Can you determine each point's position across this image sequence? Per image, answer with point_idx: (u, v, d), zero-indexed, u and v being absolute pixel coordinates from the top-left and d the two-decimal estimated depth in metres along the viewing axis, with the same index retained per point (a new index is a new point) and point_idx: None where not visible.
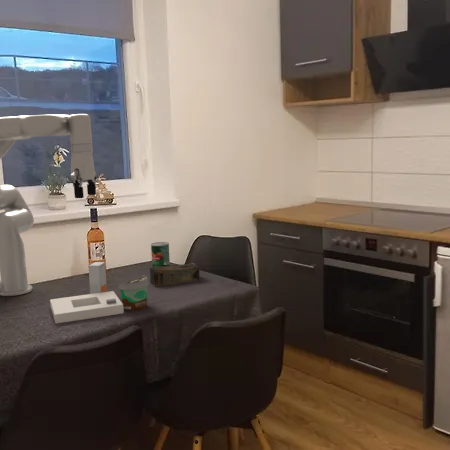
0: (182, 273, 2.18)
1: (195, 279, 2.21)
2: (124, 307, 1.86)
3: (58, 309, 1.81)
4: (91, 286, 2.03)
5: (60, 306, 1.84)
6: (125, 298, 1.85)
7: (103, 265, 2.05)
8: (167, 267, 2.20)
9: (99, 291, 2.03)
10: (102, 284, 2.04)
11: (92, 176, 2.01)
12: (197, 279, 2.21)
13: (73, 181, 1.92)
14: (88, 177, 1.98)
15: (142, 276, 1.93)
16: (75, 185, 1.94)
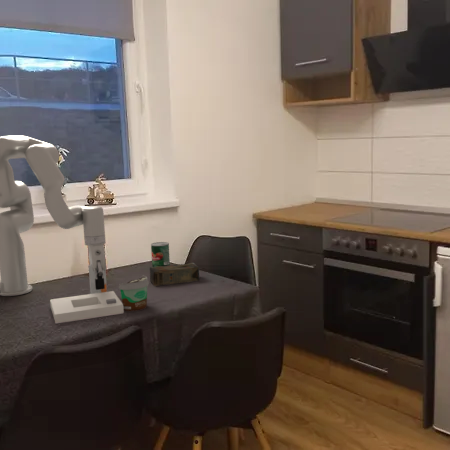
0: (181, 273, 2.18)
1: (195, 279, 2.21)
2: (124, 307, 1.86)
3: (58, 309, 1.81)
4: (91, 286, 2.03)
5: (60, 306, 1.84)
6: (125, 298, 1.85)
7: None
8: (167, 267, 2.21)
9: (99, 291, 2.03)
10: None
11: (92, 268, 2.02)
12: (197, 279, 2.22)
13: None
14: None
15: (142, 276, 1.93)
16: None
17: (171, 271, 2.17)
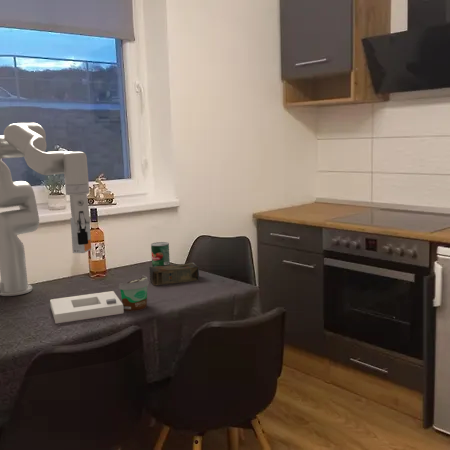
0: (180, 272, 2.19)
1: (194, 279, 2.21)
2: (124, 307, 1.86)
3: (58, 309, 1.81)
4: (73, 241, 1.82)
5: (60, 306, 1.84)
6: (125, 298, 1.85)
7: None
8: (166, 266, 2.21)
9: (82, 246, 1.82)
10: None
11: (74, 221, 1.81)
12: (196, 279, 2.22)
13: None
14: None
15: (142, 276, 1.93)
16: None
17: (170, 271, 2.17)
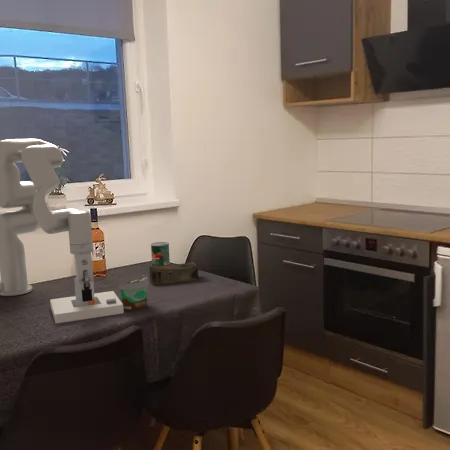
0: (180, 272, 2.19)
1: (194, 278, 2.22)
2: (124, 307, 1.86)
3: (58, 309, 1.81)
4: (77, 301, 1.85)
5: (60, 306, 1.84)
6: (125, 298, 1.85)
7: None
8: (166, 266, 2.22)
9: None
10: None
11: (78, 279, 1.83)
12: (196, 279, 2.22)
13: None
14: None
15: (142, 276, 1.93)
16: None
17: (170, 270, 2.18)
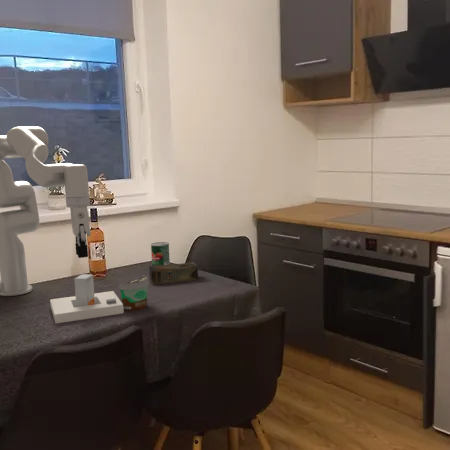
0: (179, 272, 2.20)
1: (193, 278, 2.22)
2: (124, 307, 1.86)
3: (58, 309, 1.81)
4: (77, 301, 1.85)
5: (60, 306, 1.84)
6: (125, 298, 1.85)
7: (91, 278, 1.87)
8: (166, 266, 2.22)
9: None
10: (89, 299, 1.86)
11: (74, 233, 1.81)
12: (195, 278, 2.22)
13: None
14: (73, 232, 1.84)
15: (142, 276, 1.93)
16: None
17: (169, 270, 2.18)
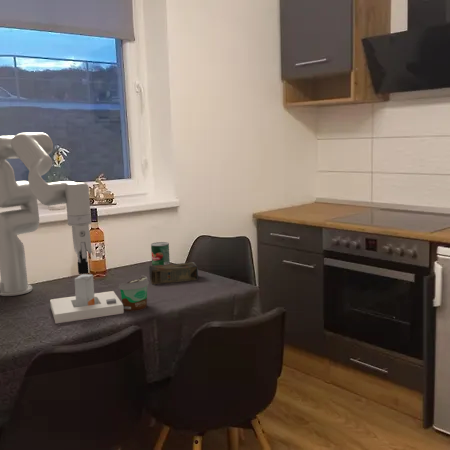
0: (179, 272, 2.20)
1: (193, 278, 2.22)
2: (124, 307, 1.86)
3: (58, 309, 1.81)
4: (77, 301, 1.85)
5: (60, 306, 1.84)
6: (125, 298, 1.85)
7: (91, 278, 1.87)
8: (166, 265, 2.23)
9: None
10: (89, 299, 1.86)
11: (76, 251, 1.82)
12: (195, 278, 2.23)
13: None
14: (74, 249, 1.85)
15: (142, 276, 1.93)
16: None
17: (169, 270, 2.19)
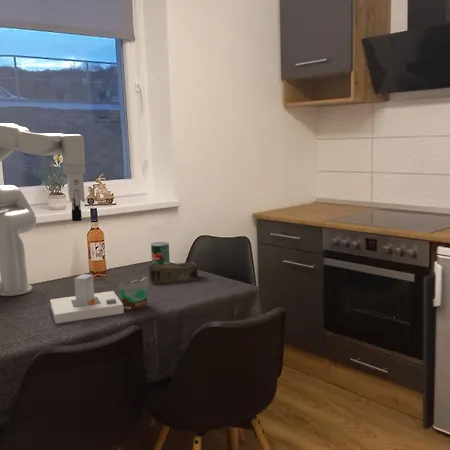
0: (179, 272, 2.20)
1: (193, 278, 2.22)
2: (124, 307, 1.86)
3: (58, 309, 1.81)
4: (77, 301, 1.85)
5: (60, 306, 1.84)
6: (125, 298, 1.85)
7: (91, 278, 1.87)
8: (166, 265, 2.23)
9: None
10: (89, 299, 1.86)
11: (70, 198, 1.94)
12: (195, 278, 2.23)
13: None
14: (69, 198, 1.97)
15: (142, 276, 1.93)
16: None
17: (169, 270, 2.19)
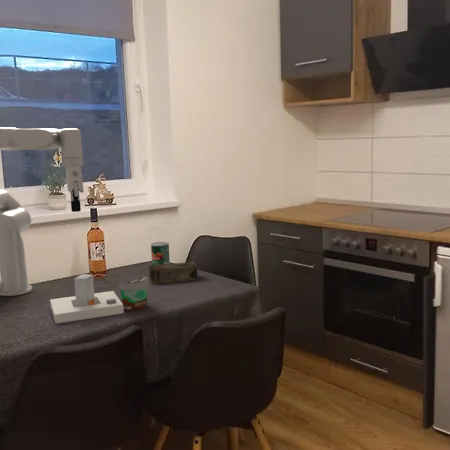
0: (179, 271, 2.20)
1: (193, 278, 2.23)
2: (124, 307, 1.86)
3: (58, 309, 1.81)
4: (77, 301, 1.85)
5: (60, 306, 1.84)
6: (125, 298, 1.85)
7: (91, 278, 1.87)
8: (166, 265, 2.24)
9: None
10: (89, 299, 1.86)
11: (69, 190, 2.02)
12: (195, 278, 2.23)
13: None
14: (68, 189, 2.05)
15: (142, 276, 1.93)
16: None
17: (168, 269, 2.19)
